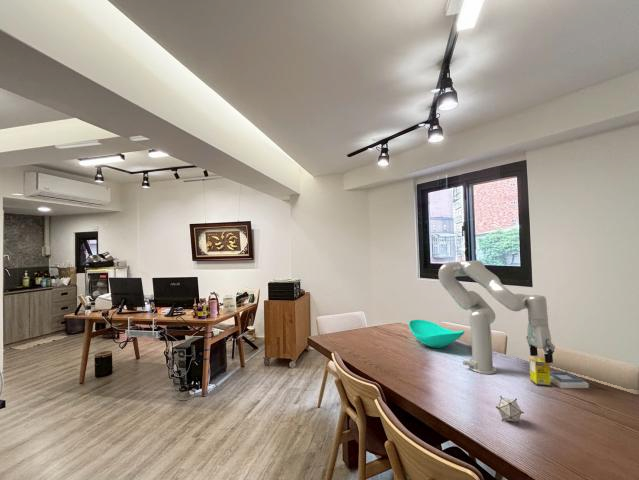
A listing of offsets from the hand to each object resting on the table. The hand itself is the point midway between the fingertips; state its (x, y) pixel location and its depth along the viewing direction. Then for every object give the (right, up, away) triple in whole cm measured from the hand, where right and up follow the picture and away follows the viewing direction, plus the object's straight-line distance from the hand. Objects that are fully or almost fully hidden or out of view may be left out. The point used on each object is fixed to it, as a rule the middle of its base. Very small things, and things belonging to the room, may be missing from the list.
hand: (541, 359), depth 141 cm
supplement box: (0, -12, 0) cm, 12 cm away
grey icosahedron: (-34, -11, -30) cm, 47 cm away
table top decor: (-27, -14, +58) cm, 65 cm away
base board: (+12, -11, +1) cm, 16 cm away
